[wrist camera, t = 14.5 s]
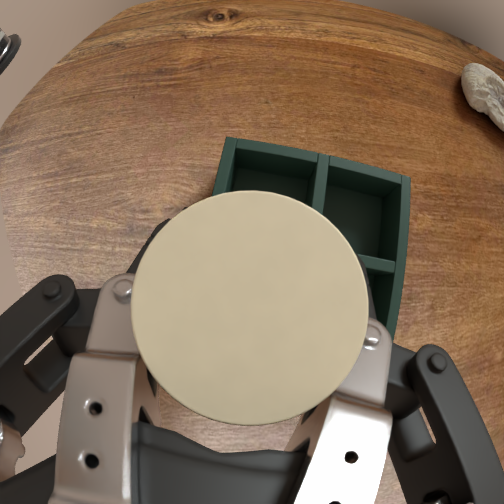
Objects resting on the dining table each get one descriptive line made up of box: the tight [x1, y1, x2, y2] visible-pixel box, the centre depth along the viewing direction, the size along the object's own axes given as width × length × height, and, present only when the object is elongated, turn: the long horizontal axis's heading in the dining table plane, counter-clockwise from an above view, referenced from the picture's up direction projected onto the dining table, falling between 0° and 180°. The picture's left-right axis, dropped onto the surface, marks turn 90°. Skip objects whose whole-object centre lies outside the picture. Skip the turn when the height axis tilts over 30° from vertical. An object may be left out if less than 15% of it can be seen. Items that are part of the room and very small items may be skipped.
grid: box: [212, 137, 411, 342], centre depth 20 cm, size 13×13×4 cm
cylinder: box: [131, 191, 368, 426], centre depth 10 cm, size 4×4×10 cm
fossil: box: [461, 63, 504, 132], centre depth 23 cm, size 11×4×10 cm
